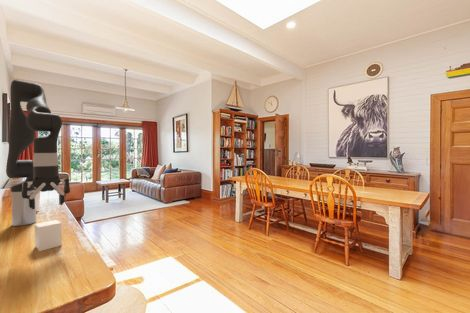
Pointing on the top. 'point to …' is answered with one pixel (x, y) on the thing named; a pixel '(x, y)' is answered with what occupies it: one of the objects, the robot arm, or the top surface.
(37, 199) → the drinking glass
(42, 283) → the top surface
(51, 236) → the white block
